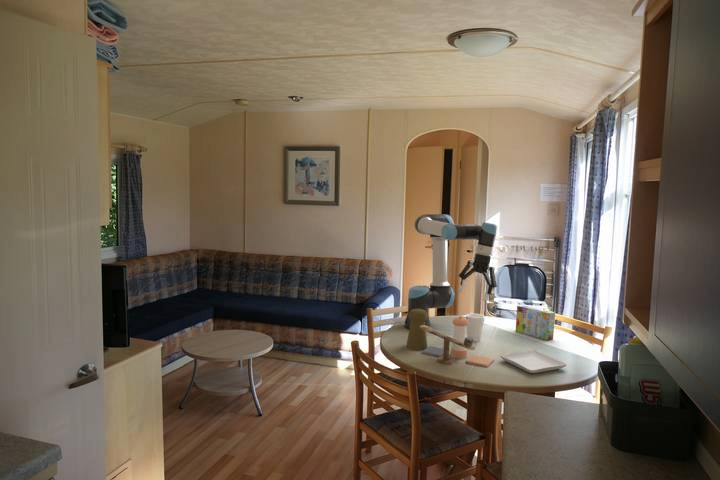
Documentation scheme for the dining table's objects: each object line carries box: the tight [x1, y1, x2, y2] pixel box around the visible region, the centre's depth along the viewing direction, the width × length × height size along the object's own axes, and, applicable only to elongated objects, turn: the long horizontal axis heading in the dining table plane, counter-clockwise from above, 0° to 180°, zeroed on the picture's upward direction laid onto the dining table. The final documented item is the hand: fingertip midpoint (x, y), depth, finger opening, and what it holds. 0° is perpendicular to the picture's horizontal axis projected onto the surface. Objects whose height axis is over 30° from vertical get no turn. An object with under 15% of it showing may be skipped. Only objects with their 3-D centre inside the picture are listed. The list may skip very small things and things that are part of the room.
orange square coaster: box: [465, 354, 495, 368], centre depth 226 cm, size 10×10×1 cm
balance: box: [420, 325, 476, 365], centre depth 225 cm, size 27×6×15 cm, turn 58°
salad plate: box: [499, 349, 568, 374], centre depth 223 cm, size 21×21×3 cm
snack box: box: [515, 304, 556, 341], centre depth 271 cm, size 21×6×15 cm, turn 35°
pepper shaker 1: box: [406, 309, 428, 352], centre depth 244 cm, size 10×10×19 cm
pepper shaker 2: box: [450, 315, 468, 359], centre depth 233 cm, size 7×7×19 cm
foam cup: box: [465, 313, 485, 342], centre depth 260 cm, size 10×9×13 cm
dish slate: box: [421, 345, 444, 358], centre depth 238 cm, size 10×10×1 cm
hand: (473, 296), depth 241 cm, fingers open, 13 cm apart
